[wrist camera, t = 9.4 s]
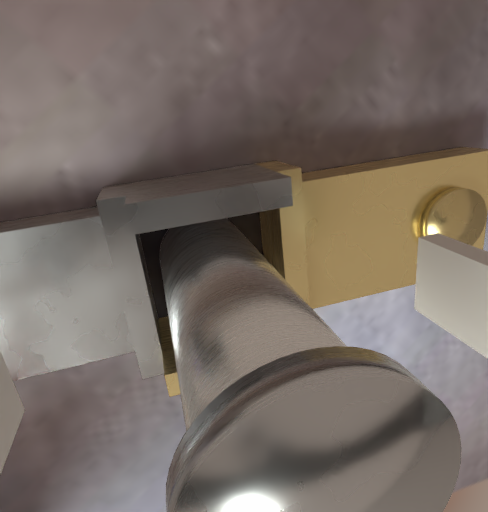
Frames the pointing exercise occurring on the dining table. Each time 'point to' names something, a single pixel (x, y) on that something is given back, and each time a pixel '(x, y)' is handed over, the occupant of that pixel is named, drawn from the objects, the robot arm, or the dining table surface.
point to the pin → (288, 397)
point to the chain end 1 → (108, 267)
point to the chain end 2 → (365, 226)
